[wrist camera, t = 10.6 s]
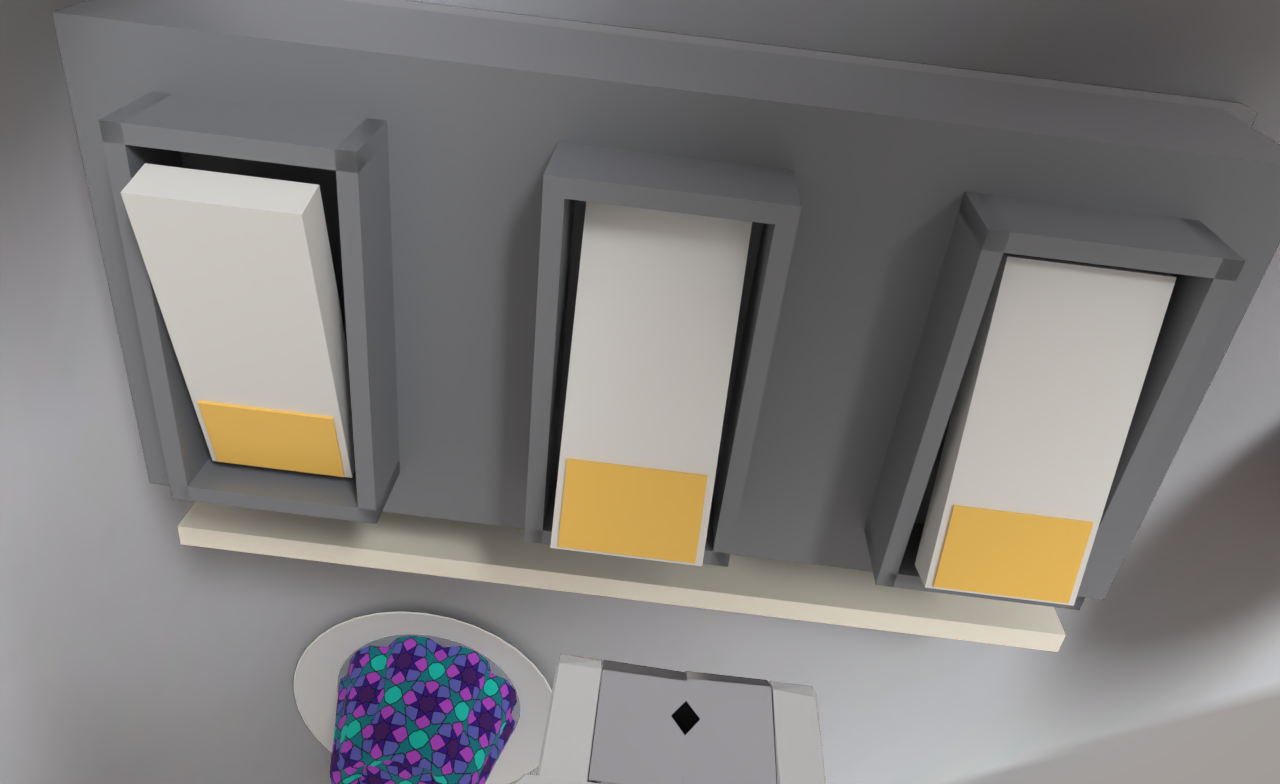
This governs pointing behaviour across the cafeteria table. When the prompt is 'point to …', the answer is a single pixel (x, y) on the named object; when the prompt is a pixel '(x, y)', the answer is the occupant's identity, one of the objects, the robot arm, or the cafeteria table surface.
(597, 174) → the switch box
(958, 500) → the rocker
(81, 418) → the cafeteria table surface
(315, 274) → the rocker
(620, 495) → the rocker
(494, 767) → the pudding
